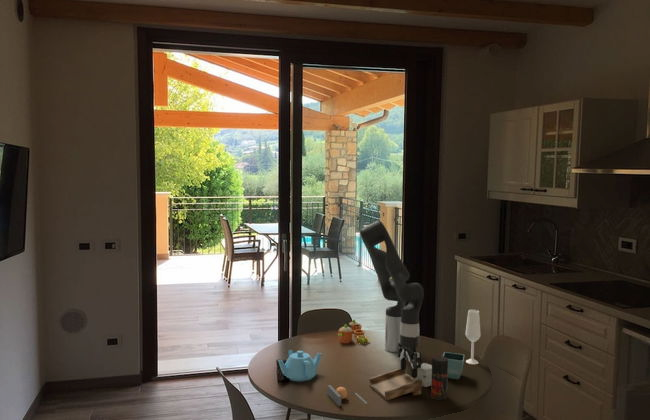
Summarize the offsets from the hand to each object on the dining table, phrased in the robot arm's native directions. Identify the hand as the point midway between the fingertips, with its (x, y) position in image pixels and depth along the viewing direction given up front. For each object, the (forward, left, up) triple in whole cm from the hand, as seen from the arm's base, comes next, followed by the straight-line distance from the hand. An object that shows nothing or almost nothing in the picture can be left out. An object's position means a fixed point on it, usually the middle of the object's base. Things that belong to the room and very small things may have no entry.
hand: (408, 373), depth 202 cm
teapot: (+37, -26, -6) cm, 46 cm away
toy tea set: (-5, -66, -7) cm, 67 cm away
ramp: (+6, 0, -6) cm, 9 cm away
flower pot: (-24, -4, -6) cm, 25 cm away
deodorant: (-7, +11, -6) cm, 14 cm away
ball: (+29, 0, -4) cm, 29 cm away
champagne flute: (-42, -15, -6) cm, 45 cm away
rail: (+32, 0, -6) cm, 33 cm away
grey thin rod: (+22, 0, -6) cm, 23 cm away
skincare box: (-9, -2, -6) cm, 11 cm away
